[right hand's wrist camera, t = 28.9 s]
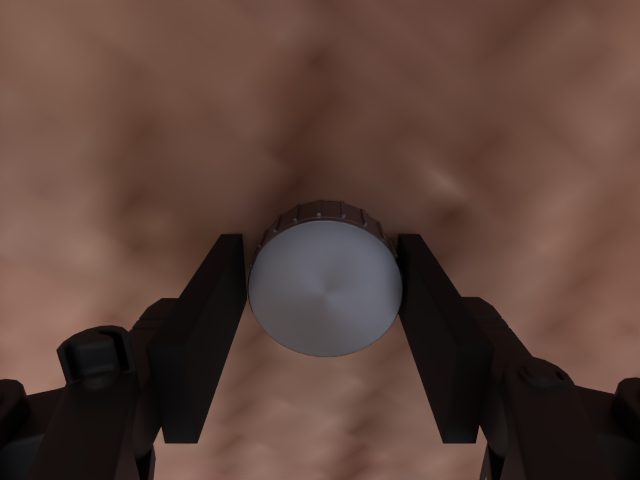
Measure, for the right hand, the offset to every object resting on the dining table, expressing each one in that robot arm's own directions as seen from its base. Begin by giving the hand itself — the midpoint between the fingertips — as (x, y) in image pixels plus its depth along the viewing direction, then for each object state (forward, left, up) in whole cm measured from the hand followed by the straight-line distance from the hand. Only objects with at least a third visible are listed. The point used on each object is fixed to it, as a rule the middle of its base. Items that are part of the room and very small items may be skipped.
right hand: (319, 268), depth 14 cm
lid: (0, 0, +2) cm, 2 cm away
